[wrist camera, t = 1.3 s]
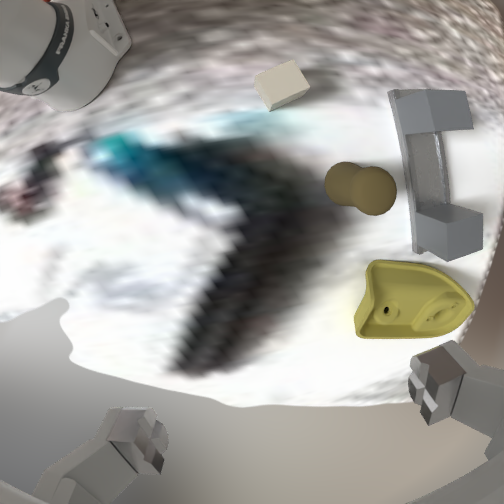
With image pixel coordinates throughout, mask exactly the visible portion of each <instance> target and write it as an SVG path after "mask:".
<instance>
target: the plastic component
mask: <svg viewBox="0 0 504 504" xmlns="http://www.w3.org/2000/svg"><path fill="white" fill-rule="evenodd" d="M385 307H388V308H389V311H388V312H387V313H384V308H385ZM473 310H474V302H473V300H472V299H471V297H470V296H469V294H468V293H467V292H466V291H465V290H464V289H463V288H462V287H461V286H460V285H459V284H458V283H457V282H456V281H455V280H453V279H452V278H451V277H449V276H448V275H446V274H445V273H443V272H441V271H439V270H437V269H435V268H432V267H430V266H426V265H422V264H417V263H407V262H396V261H385V260H375V261H373V262H371V263H370V264H369V265H368V268H367V270H366V292H365V295H364V297H363V299H362V301H361V303H360V305H359V307H358V309H357V311H356V313H355V315H354V323H355V330H356V335H357V336H358V337H360V338H364V339H415V338H433V337H438V336H442V335H445V334H447V333H450V332H452V331H453V330H455V329H456V328H458V327H459V326H460V325H461V324H462V323H463V322H464V321H465V320H466V319H467V317H468V316H469V315H470V314H471V313H472V311H473Z"/></svg>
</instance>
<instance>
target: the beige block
mask: <svg viewBox="0 0 504 504" xmlns="http://www.w3.org/2000/svg"><path fill="white" fill-rule="evenodd" d="M254 87H255V89H256V91H257V92H258V94H259V96H260V97H261V99H262V101H263V102H264V104H265V106H266V107H267V109H268V111H269V112H270V111H272V110H274V109H276V108H278V107H280V106H282V105H284V104H287V103H289V102H291V101H293V100H295V99H297V98H300V97H302V96H303V95H304V94H305V93H306V92H307V91H308V89H309V88H310V85H309V84H308V82H307V80H306V79H305V77H304V76H303V74H302V72H301V71H300V69H299V68H298V66H297V64H296V63H295V61H294V60H290V61H288V62H285V63H283V64H281V65H278V66H276V67H274V68H271V69H269V70H267V71H265V72H262V73H260V74H258V75H256V76H255V82H254Z"/></svg>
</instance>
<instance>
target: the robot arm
mask: <svg viewBox="0 0 504 504" xmlns="http://www.w3.org/2000/svg"><path fill="white" fill-rule="evenodd" d="M50 1H51V0H0V91H3V92H7V93H11V94H17V95H27V96H30V97H31V98H33V99H36V100H40V101H42V102H43V103H45V104H47V105H48V106H50V107H51V108H52V109H54V110H56V111H60V112H70V111H74V110H77V109H79V108H81V107H83V106H85V105H86V104H88V103H89V102H91V101H92V100H93V99H94V98H95V97H96V96H97V95H98V94H99V93H100V92H101V91H102V90H103V88H104V87H105V86H106V84H107V83H108V81H109V79H110V78H111V76H112V74H113V71H114V69H115V67H116V64H117V63H118V61H119V59H120V58H121V57H122V56H123V55H124V54H125V53H126V52H127V51H128V49H129V48H130V46H131V43H132V42H131V39H130V37H129V34H128V32H127V30H126V28H125V25H124V23H123V21H122V19H121V16H120V14H119V12H118V10H117V7H116V5H115V3H114V1H113V0H53V1H52V2H50ZM121 37H122V39H121V40H119V39H120V38H121ZM410 367H411V369H412V370H413V371H412V373H411V374H410V376H409V380H408V387H409V393H410V395H411V398H412V399H413V401H414V403H416V404H418V405H421V410H420V413H421V415H422V416H423V418H424V419H425V421H426V423H427V425H428V426H429V425H432V424H434V423H436V422H439V421H441V420H443V419H445V418H448V417H450V416H451V417H452V418H453V419H455V420H457V421H459V422H461V423H463V424H465V425H467V426H469V427H471V428H473V429H475V430H477V431H479V432H481V433H483V434H485V435H487V436H489V437H491V438H492V440H491V441H490V443H489V445H488V447H487V448H486V450H485V453H484V454H485V455H486V457H487V459H488V461H487V462H485V463H484V464H482V465H481V466H479V467H477V468H476V469H474V470H472V471H471V472H469V473H467V474H466V475H464V476H462V477H460V478H459V479H457V480H455V481H453V482H451V483H449V484H447V485H445V486H443V487H441V488H439V489H437V490H435V491H433V492H431V493H429V494H427V495H425V496H422V497H421V498H418V499H415V500H413V501H411V502H408V503H406V504H504V370H502V369H498V368H494V367H490V366H487V365H482V366H479V365H478V364H477V363H476V362H475V361H474V360H473V359H472V358H471V357H470V356H469V355H468V354H467V353H466V352H465V351H464V350H463V349H462V348H461V347H460V346H459V345H458V344H457V343H456V342H455V341H453V340H450V341H448V342H446V343H444V344H441V345H439V346H437V347H434V348H432V349H430V350H427V351H425V352H422V353H420V354H417V355H415V356H412V358H411V362H410ZM156 419H157V414H156V412H155V411H154V409H153V408H149V407H142V408H141V407H111V408H110V409H109V410H108V412H107V414H106V416H105V418H104V420H103V422H102V424H101V426H100V427H99V429H98V431H97V433H96V435H95V437H94V439H93V440H88V441H87V442H85V443H84V444H83V445H81V446H80V447H78V448H77V449H75V450H74V451H72V452H71V453H70V454H68V455H66V456H65V457H64V458H62V459H61V460H59V461H58V462H56V463H55V464H53V465H52V466H50V467H48V468H47V469H45V470H44V472H43V474H42V476H41V478H40V480H39V482H38V484H37V486H36V487H35V489H34V491H33V493H32V495H29V494H27V493H25V492H23V491H21V490H19V489H17V488H15V487H13V486H11V485H9V484H7V483H5V482H3V481H2V480H0V504H111V503H112V501H113V500H114V499H115V498H116V497H117V496H118V495H119V494H120V493H121V492H122V491H123V490H124V489H125V488H126V487H127V486H128V485H129V484H130V483H131V482H132V481H133V480H134V479H135V478H136V477H137V476H138V474H156V475H160V474H161V471H162V467H163V463H164V458H163V456H162V453H164V452H165V451H166V450H167V447H168V443H169V441H168V433H167V430H166V428H165V426H164V425H163V424H162V423H161V422H159V421H157V420H156ZM137 473H138V474H137Z"/></svg>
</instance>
